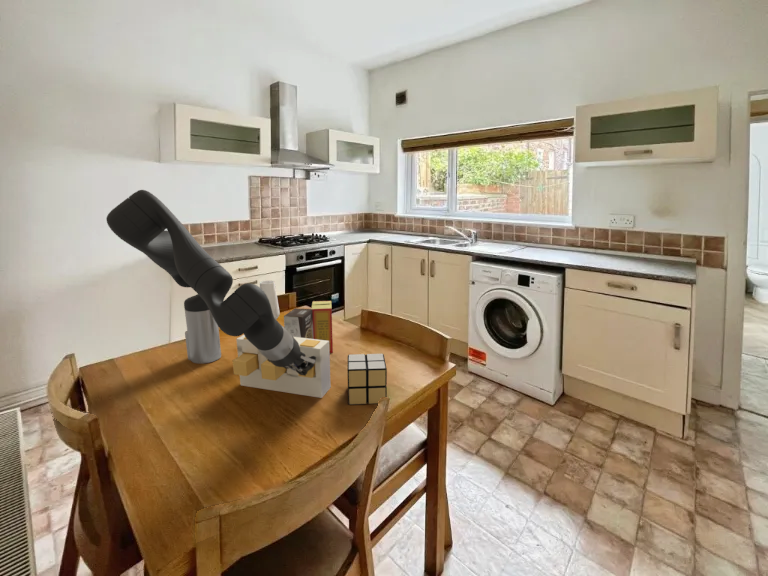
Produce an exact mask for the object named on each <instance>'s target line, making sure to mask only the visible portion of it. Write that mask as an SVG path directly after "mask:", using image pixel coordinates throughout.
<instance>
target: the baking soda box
mask: <svg viewBox="0 0 768 576" xmlns="http://www.w3.org/2000/svg"><path fill="white" fill-rule="evenodd" d="M332 308H333V307H332V300H316V301H315V300H313V301H312V303H311V309H313V310H312V312H313V338H314V339H318V340H326V341H329V351H330V354H333V353H334V348H333V347H334V345H333V344H334V343H333V316H332V315H333V313H332V312H333V311H332Z"/></svg>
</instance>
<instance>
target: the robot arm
mask: <svg viewBox="0 0 768 576" xmlns="http://www.w3.org/2000/svg"><path fill="white" fill-rule="evenodd" d="M106 223H107V225H108V227H109V228H110V231H111V232H112V233H114V235H116V236H117V237H118V238H119V239H120V240H122V241H123V242H125V243H126V244H128V245H129V246H131V247H132V248H135V249H136V250H137V251H140V252H141V253H143V254H144V255H145V256H146V257H147V258H149V259H150V260H151V261H152V262H153V263H154V264H155V265H157V266H158V267H160V268H161V269H163V270H164V271H165V272H166V273H167V274H169V276H171V278H172V279H173V280H174V282H176V284H177V285H178V286H180V287H181V288H191V289H192V290H193V291H194V292H196V294H194V295H192V296H190V297H187V298H186V299H185V300H184V301H183V308H184V314H185V315H184V316H185V324H186V331H185V332H184V336H185V345H186V355H187V360H188V361H191V362H192V363H193V364H209V363H212V362H215V361H217V360H219V359H220V358H221V357H222V349H221V340H220V331H219V330H221V331H222V332H223V333H224V334H226V335H227V336H230V337H241V336H242V335H245V337H246V339H247V340H248V341H250V342H251V343H252V344H253V345H254V346H255V347H256V348H257V349H258V350H259V352H260V353H261V354H262V355H263V356H264V357H266V358H267V359H268V361H269V362H271V363H272V364H274V365H275V366H278V367H284V368H286V369H289V368H290V369H292V370H293V371H296V372H297V373H299V374H300V375H304V376H305V375H306V374H307V372H308V371H309V370H310V369H311V368H313V366H314V363H315V360H316V357H315V356H311V357H305V354H304V353H302V352H301V351H300V347H299V344H298V342H297V341H296V340H295V338H294V337H293V336H292V335H291V334H290V333H289V332H288V331H287V330H286V328H284V326H283V325H282V324H281V323H280V322H279V321H278V320H277V319H275V318H274V315H273V312H272V309H271V305H270V302H269V299H268V297H267V296H266V294H265V292H264V291H263V290H262V289H261V288H260V286H258V285H256V284H255V283H249V282H247V283H243V284H241V285H240V286H238V287H237V288H236V289H235V290H234V291H233V292H232V293H230V295H229V296H227V294H228V293H229V291H230V290H231V288H232V286H233V282H234V278H233V277H232V275H231V273H230V272H229V271H228V270H227V269H225V268H224V267H223V266H222V265H221V264H220V263H219V262H218V261H217V260H215V259H214V258H213V257H212V256H211V255H210V253H208V252H207V251H206V250H205V249H204V248H203V247H202V245H200V244H199V242H198V241H197V240H196V239H195V237H194V236H193V235H192V233H191V232H190V231H189V230H188V229H187V228H186V227H185V225H184V224H183V223H182V222H181V221H180V220H179V219H178V218H177V216H176V215H175V214H174V213H173V212H172V211H171V210H170V208H168V207H167V205H165V204H164V203H163V202H162V201H161V200H160V199H159V198H158V197H157V196H156V195H154V194H153V193H152V192H149V191H148V190H145V189H139V190H136V191H135V192H134V193H132V194H131V195H129V196H128V197H127V198H126V199H124V200H123V201H122V202H120V203H119V204H118V205H116V206H115V207H114V208H112V210H111V211H110V212H109V213H107V216H106ZM226 296H227V298H225V297H226Z"/></svg>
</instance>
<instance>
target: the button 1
mask: <svg viewBox="0 0 768 576" xmlns="http://www.w3.org/2000/svg"><path fill="white" fill-rule="evenodd" d="M257 368H259V360H258V354H254V353H246V352H245V353H243V354H242V355H240V356H239V357H238V356H237V357H235V358H234V359H232V369H233V375H235V376H240V375H242V376H248V375H249V374H251V373H252V372H253V371H255V370H256V369H257Z"/></svg>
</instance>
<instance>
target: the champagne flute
mask: <svg viewBox="0 0 768 576" xmlns="http://www.w3.org/2000/svg"><path fill="white" fill-rule="evenodd" d="M259 287H260V288H261V289H262V290H263V291H264V292H265V294H266V296H267V297H268V299H269V302H270V305H271V309H272V312H273V315H274V318H275V319H276V320H277V319H278V318H279V317H280V307H279V300H278V294H277V288H276V283H275V280H262V281H260V282H259Z"/></svg>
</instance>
